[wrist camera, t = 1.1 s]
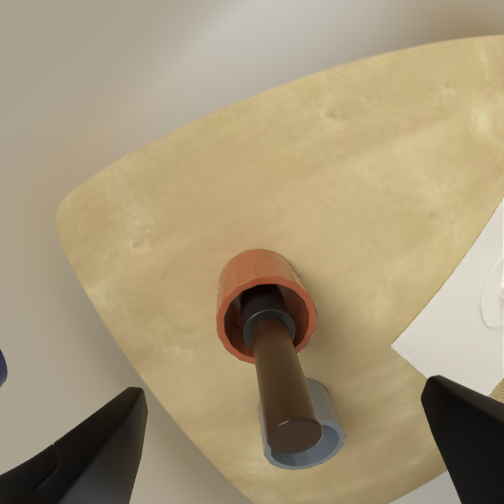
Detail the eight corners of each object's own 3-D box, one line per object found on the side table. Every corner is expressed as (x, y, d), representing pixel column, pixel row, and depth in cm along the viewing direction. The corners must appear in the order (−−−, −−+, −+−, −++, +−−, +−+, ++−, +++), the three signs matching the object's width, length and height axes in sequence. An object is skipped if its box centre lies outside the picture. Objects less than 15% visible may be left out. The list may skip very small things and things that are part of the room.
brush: (240, 321, 20) (254, 465, 9) (239, 281, 19) (253, 414, 8) (282, 319, 20) (330, 456, 9) (283, 279, 19) (341, 404, 8)
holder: (220, 322, 22) (219, 366, 17) (217, 249, 21) (214, 278, 16) (294, 318, 23) (312, 361, 17) (296, 247, 21) (319, 274, 16)
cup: (258, 431, 25) (263, 473, 20) (258, 380, 24) (264, 424, 19) (324, 424, 26) (338, 463, 21) (332, 374, 24) (351, 414, 19)
